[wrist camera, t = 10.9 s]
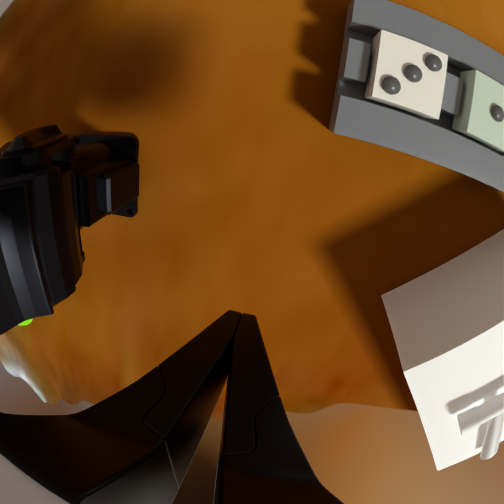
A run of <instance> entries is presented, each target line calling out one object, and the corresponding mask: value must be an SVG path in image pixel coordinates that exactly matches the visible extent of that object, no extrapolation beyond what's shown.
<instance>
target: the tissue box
mask: <svg viewBox="0 0 504 504" xmlns="http://www.w3.org/2000/svg"><path fill="white" fill-rule="evenodd" d="M381 297H382V300H383V303H384V306H385V310H386V313H387V316H388V319H389V322H390V326H391V329H392V333H393V336H394V340H395V343H396V347H397V350H398V354H399V358H400V362H401V366H402V369H403V373H404V375H405V378H406V380H407V383H408V386H409V388H410V391H411V393H412V396H413V399H414V401H415V404H416V407H417V409H418V412H419V415H420V418H421V421H422V423H423V426H424V429H425V432H426V435H427V438H428V441H429V445H430V447H431V451H432V454H433V457H434V461H435V464H436V467H437V470H441V469H443V468H446V467H449V466H451V465H453V464H456V463H458V462H460V461H463V460H465V459H467V458H470V457H472V456H474V455H476V454H478V453H480V452H481V454H480V458H481V459H482V460H485V459H489V458H491V457H492V456H494V455H495V454H496V452H497V450H498V446H499V443H500V442H501V441H503V440H504V229H503V230H501V231H500V232H498V233H496V234H495V235H493V236H491V237H490V238H488V239H486V240H485V241H483V242H481V243H480V244H478V245H476V246H475V247H473V248H471V249H469V250H468V251H466V252H464V253H462V254H461V255H459V256H457V257H455V258H453V259H452V260H450V261H448V262H446V263H444V264H442V265H441V266H439V267H437V268H435V269H433V270H431V271H429V272H427V273H425V274H423V275H421V276H419V277H417V278H415V279H413V280H411V281H409V282H407V283H405V284H403V285H401V286H399V287H397V288H395V289H393V290H391V291H389V292H387V293H385V294H382V295H381Z"/></svg>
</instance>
